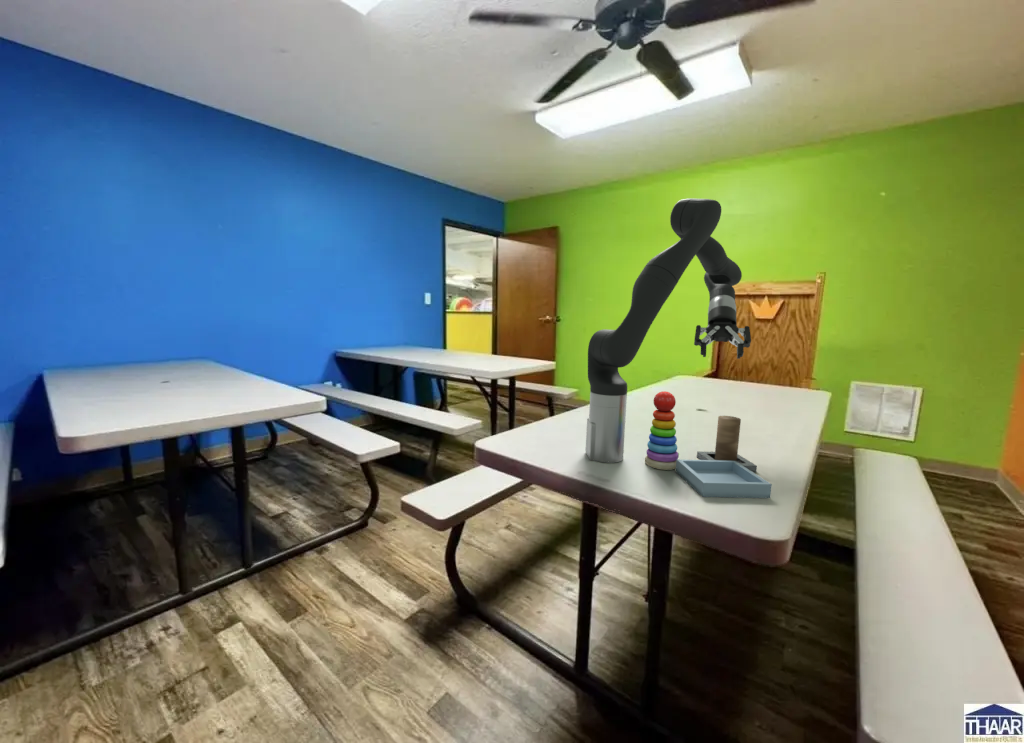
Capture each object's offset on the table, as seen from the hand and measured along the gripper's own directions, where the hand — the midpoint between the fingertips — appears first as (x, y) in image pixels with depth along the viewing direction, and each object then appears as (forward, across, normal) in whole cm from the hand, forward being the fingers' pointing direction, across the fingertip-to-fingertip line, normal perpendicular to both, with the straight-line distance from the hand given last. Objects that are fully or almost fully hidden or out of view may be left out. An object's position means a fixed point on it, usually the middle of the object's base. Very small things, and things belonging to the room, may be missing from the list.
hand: (721, 356), depth 113 cm
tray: (+38, 0, -2) cm, 39 cm away
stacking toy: (+34, -13, +3) cm, 37 cm away
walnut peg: (+28, +2, +9) cm, 30 cm away
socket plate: (+28, +2, +9) cm, 30 cm away
